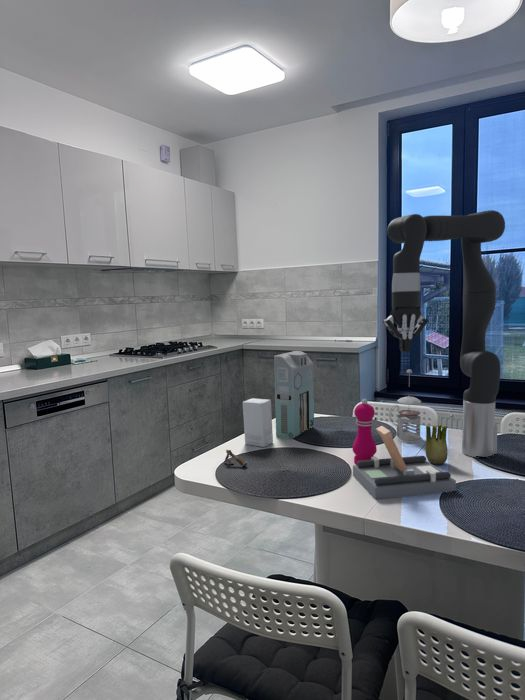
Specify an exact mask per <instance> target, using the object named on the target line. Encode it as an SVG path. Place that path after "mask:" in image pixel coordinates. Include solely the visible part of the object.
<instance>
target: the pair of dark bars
mask: <svg viewBox="0 0 525 700" xmlns="http://www.w3.org/2000/svg"><path fill="white" fill-rule="evenodd" d="M401 457H402V459H403V461H404V463H405V464H406V463H418V462H425V461H427V457H426V455H414V456H401ZM391 459H392V458H391V457H390V458H378V457H376V456H374V457H371V460H363V461H358V462H357V464H356V465H357V466H358V467H371V466H374V467H375V468H377V467H379V466H383V465H390V464H391ZM450 477H451V478H452V474H451V473H450V472H449V471H443V472H437V473H434V472H433V471H432V470H426V473H425V474H414V475H403V476H391V477H380V478H376V479H375V484H376V485H384V484H395V483H406V482H417V481H428V480H429V481H431V482H436V480H439V479H449V478H450Z"/></svg>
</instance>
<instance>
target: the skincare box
mask: <svg viewBox="0 0 525 700" xmlns="http://www.w3.org/2000/svg"><path fill="white" fill-rule="evenodd" d="M242 413H243V414H242V415H243V428H244V430H243V431H244V444H245V445H248V446H254V447H262V448H265V447H267V446H269V445H271V444H272V443H273V442H274V439H273V438H274V437H273V435H274V434H273V420H272V417H273V416H272V415H273V414H272V399H265V398H254V397H252V398H249V399H246V400H243V401H242Z"/></svg>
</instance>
